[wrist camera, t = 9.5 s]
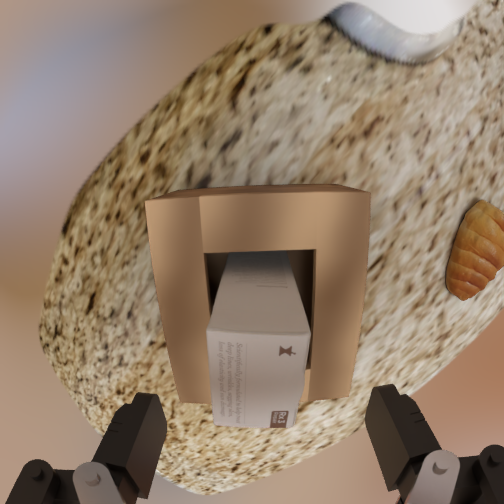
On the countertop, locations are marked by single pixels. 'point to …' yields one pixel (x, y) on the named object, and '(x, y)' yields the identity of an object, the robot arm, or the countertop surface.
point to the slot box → (262, 239)
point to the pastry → (476, 251)
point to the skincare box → (257, 342)
